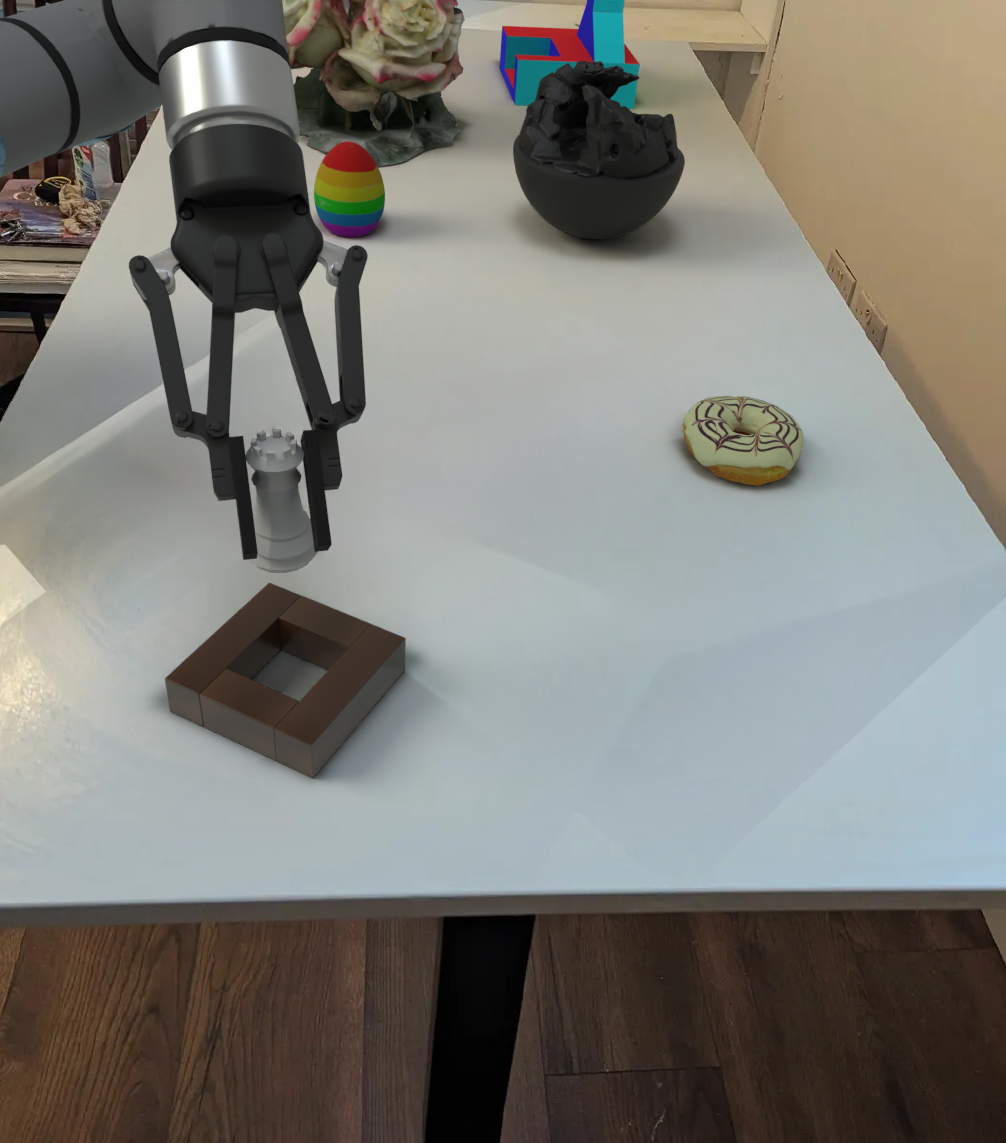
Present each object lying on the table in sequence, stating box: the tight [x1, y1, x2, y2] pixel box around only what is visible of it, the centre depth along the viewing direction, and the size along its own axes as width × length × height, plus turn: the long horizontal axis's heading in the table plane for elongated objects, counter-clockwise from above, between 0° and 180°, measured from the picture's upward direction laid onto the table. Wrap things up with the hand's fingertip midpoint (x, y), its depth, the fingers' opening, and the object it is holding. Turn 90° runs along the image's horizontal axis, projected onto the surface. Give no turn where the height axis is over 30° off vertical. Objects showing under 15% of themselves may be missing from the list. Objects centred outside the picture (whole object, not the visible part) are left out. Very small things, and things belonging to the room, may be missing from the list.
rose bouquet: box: [282, 0, 466, 168], centre depth 149 cm, size 26×29×30 cm
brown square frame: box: [164, 582, 407, 779], centre depth 73 cm, size 11×11×3 cm
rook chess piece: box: [245, 428, 319, 574], centre depth 65 cm, size 4×4×8 cm
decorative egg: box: [313, 141, 386, 238], centre depth 130 cm, size 8×8×10 cm
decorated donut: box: [681, 395, 805, 487], centre depth 99 cm, size 10×11×4 cm
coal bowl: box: [512, 61, 686, 240], centre depth 131 cm, size 20×20×19 cm
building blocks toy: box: [499, 0, 641, 110], centre depth 178 cm, size 19×25×18 cm
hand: (286, 551), depth 63 cm, fingers closed on rook chess piece, 3 cm apart
